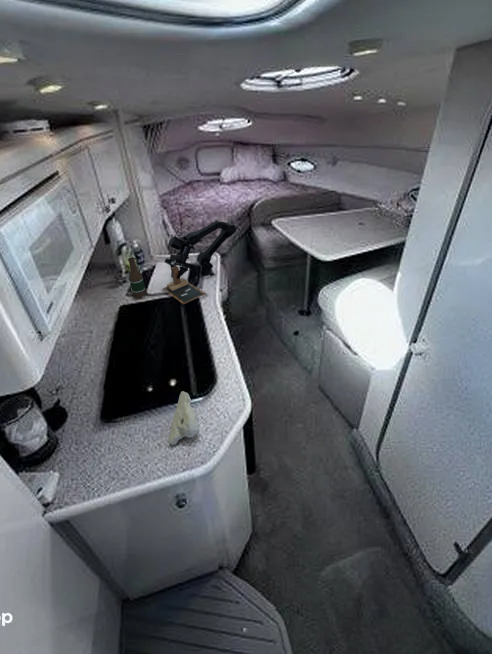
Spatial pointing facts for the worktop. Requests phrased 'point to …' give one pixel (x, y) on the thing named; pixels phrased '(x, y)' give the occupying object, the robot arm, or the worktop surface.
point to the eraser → (176, 281)
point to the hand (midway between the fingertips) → (174, 278)
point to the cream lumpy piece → (183, 420)
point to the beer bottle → (136, 280)
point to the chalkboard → (190, 296)
